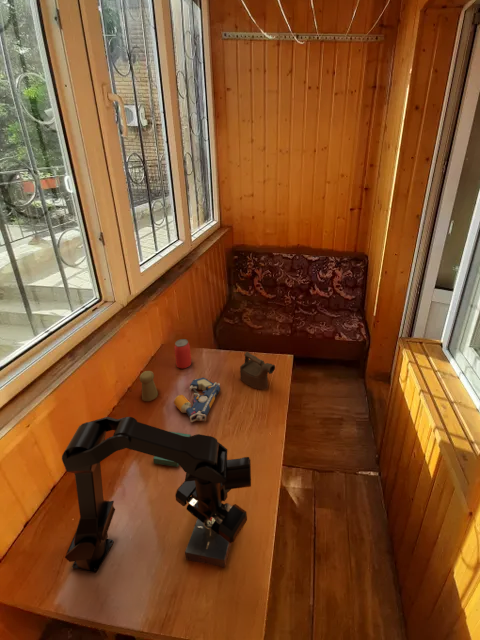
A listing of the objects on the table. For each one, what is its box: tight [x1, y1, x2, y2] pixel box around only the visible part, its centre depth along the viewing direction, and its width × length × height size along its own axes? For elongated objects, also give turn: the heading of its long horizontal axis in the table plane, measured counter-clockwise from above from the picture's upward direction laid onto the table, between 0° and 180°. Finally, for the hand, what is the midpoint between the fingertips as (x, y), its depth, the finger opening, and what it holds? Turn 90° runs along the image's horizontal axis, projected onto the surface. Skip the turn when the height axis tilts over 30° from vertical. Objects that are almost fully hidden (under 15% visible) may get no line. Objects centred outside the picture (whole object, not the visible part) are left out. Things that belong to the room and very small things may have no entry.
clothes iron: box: [239, 351, 276, 390], centre depth 131 cm, size 8×16×13 cm, turn 48°
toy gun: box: [173, 376, 221, 423], centre depth 122 cm, size 21×4×15 cm
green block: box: [153, 430, 192, 468], centre depth 102 cm, size 10×8×4 cm
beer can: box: [174, 338, 192, 369], centre depth 141 cm, size 7×7×12 cm
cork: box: [139, 370, 159, 402], centre depth 124 cm, size 6×6×11 cm
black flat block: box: [184, 518, 232, 568], centre depth 80 cm, size 11×10×3 cm
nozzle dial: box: [204, 517, 218, 539], centre depth 79 cm, size 4×4×4 cm
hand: (212, 527), depth 79 cm, fingers closed on nozzle dial, 4 cm apart
